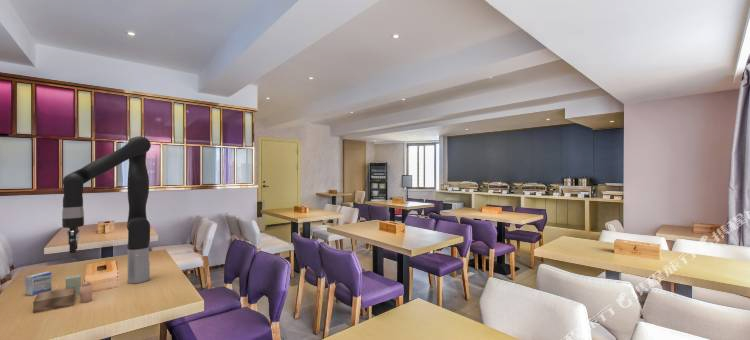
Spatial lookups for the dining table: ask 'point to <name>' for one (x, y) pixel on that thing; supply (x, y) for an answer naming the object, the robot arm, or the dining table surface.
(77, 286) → the green block
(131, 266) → the robot arm
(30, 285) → the medicine box
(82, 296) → the terracotta shaker
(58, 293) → the walnut block
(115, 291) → the dining table surface
